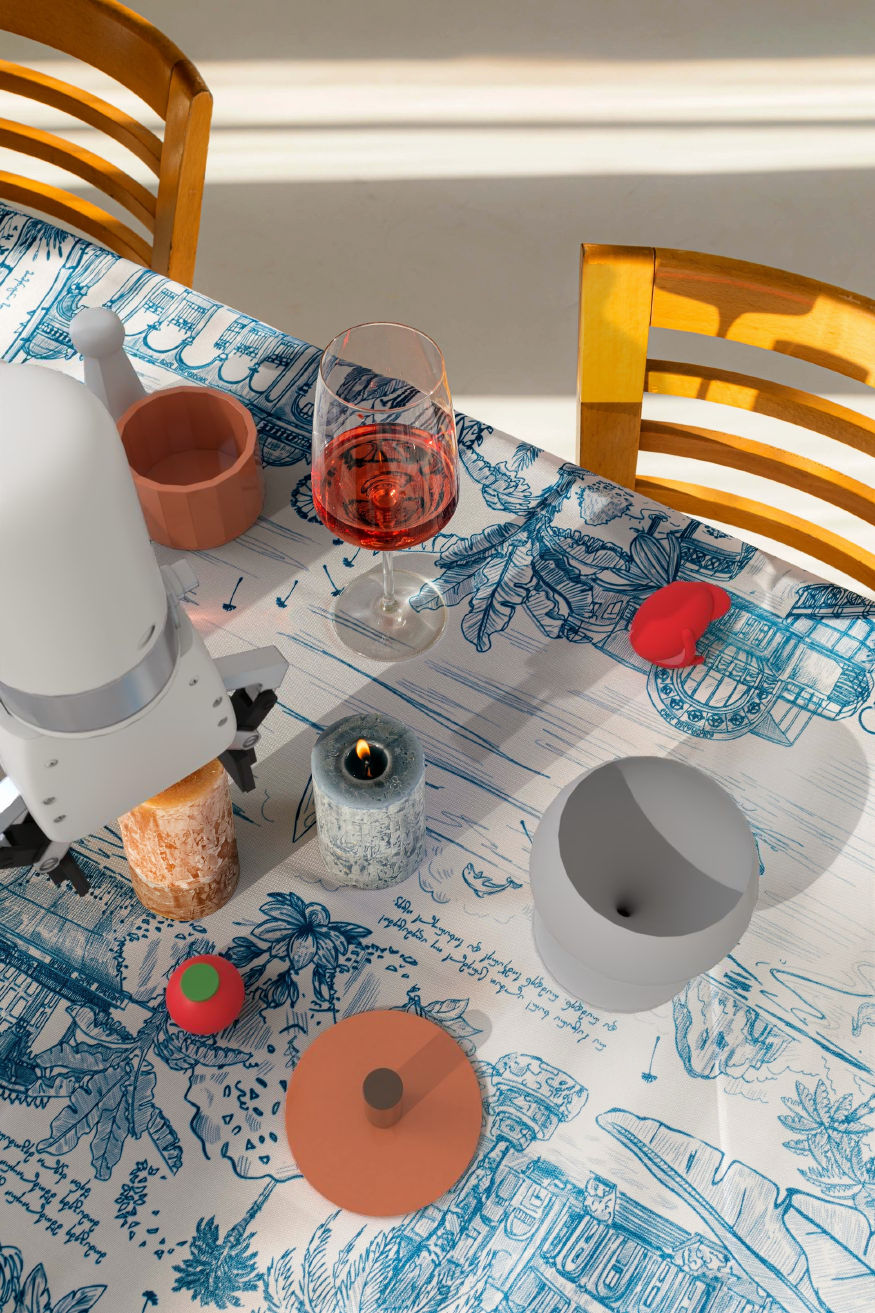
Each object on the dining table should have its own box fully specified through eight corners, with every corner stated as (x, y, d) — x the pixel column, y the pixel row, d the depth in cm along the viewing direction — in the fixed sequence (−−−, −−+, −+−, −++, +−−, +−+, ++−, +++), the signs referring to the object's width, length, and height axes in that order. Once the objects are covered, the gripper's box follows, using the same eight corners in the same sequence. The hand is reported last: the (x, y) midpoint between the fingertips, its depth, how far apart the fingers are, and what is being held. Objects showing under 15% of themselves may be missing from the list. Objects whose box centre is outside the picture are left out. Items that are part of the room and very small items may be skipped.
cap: (662, 696, 93) (677, 655, 88) (609, 646, 95) (621, 602, 90) (733, 643, 96) (751, 600, 91) (679, 595, 98) (695, 550, 93)
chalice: (751, 906, 84) (814, 816, 71) (655, 1075, 78) (706, 1009, 65) (580, 802, 88) (611, 699, 75) (475, 955, 81) (490, 870, 69)
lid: (273, 1212, 73) (263, 1195, 67) (298, 1008, 79) (290, 977, 74) (477, 1226, 72) (484, 1210, 67) (484, 1021, 79) (491, 991, 74)
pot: (117, 545, 99) (98, 486, 93) (143, 443, 105) (127, 381, 99) (254, 554, 99) (245, 496, 93) (272, 451, 105) (264, 389, 99)
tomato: (166, 1041, 78) (152, 1019, 73) (179, 966, 81) (167, 940, 76) (242, 1046, 78) (233, 1024, 73) (253, 971, 80) (245, 945, 76)
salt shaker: (136, 399, 108) (107, 284, 97) (171, 436, 106) (145, 323, 95) (80, 429, 106) (43, 315, 95) (114, 467, 104) (80, 355, 93)
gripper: (217, 485, 52) (258, 687, 67) (-165, 684, 47) (-30, 858, 61) (313, 598, 49) (334, 784, 64) (-85, 827, 43) (37, 975, 58)
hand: (156, 820), depth 62 cm, fingers open, 9 cm apart
